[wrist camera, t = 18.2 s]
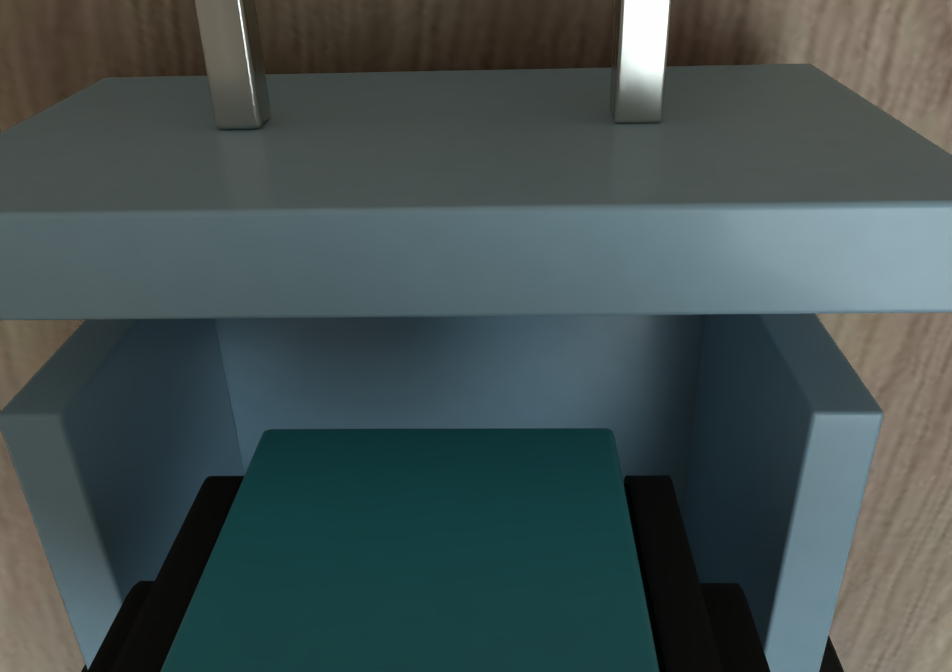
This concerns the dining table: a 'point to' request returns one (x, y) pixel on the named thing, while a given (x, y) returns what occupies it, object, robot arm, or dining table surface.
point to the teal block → (423, 557)
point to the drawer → (465, 289)
